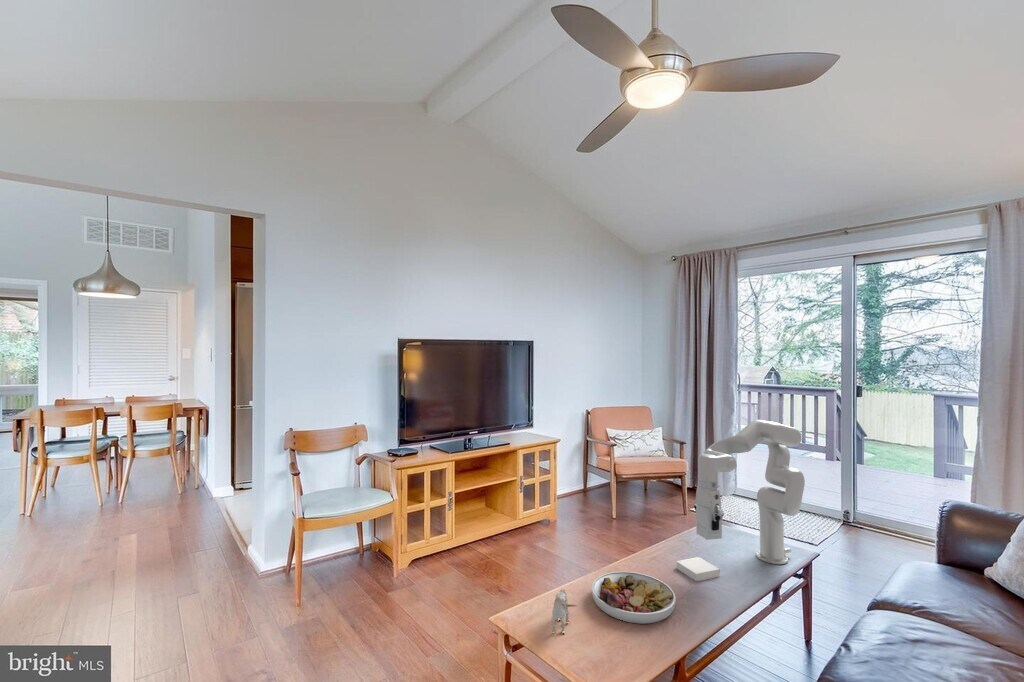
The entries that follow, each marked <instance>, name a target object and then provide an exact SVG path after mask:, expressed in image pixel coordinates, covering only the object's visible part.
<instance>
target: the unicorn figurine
mask: <svg viewBox="0 0 1024 682" xmlns="http://www.w3.org/2000/svg"><path fill="white" fill-rule="evenodd" d="M568 600H569V599H568V596H567V593H566V590H565V589H564V588H563V589H560V591H559V592H558V593H556V595H555V598H554V600H553V601H554V602H553V609H552V616H551V617H552V618H551V619H552V621H551V633H552V632H555V631H556V632H557V630H556V625H555V624H556V623H555V622H556V620H557V618H561V620H560V622H561V628H562V629H561V632H562V631H565V632H566V630H565V623H566V622H569V623H570V618H569V616H570V612H569V608H571V607H577V606H578V605H577V604H570V603H569V601H568ZM564 619H565V620H564ZM556 632H555V633H556Z"/></svg>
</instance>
